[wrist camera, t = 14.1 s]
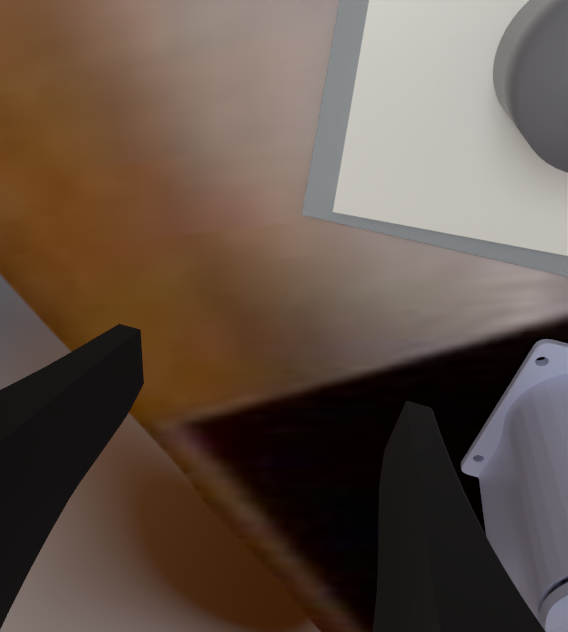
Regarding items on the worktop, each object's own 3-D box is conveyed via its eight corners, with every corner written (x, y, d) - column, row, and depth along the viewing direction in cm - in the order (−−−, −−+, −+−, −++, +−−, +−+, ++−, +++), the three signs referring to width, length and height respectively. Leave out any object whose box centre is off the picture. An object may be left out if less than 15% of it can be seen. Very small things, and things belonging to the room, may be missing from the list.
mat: (653, 292, 18) (656, 297, 18) (303, 211, 19) (301, 214, 19) (1078, -268, 9) (1095, -273, 9) (401, -339, 11) (400, -346, 11)
